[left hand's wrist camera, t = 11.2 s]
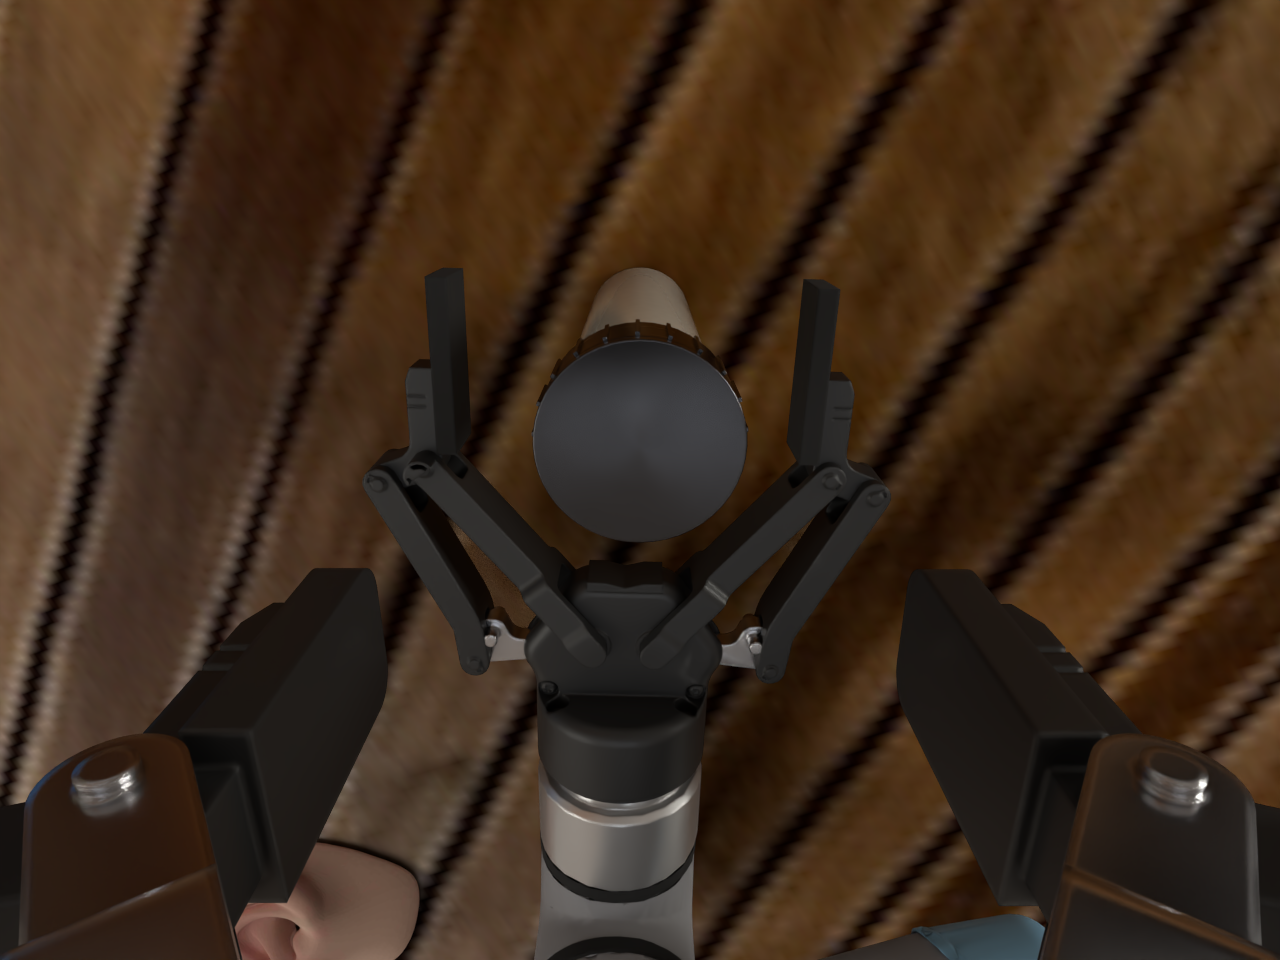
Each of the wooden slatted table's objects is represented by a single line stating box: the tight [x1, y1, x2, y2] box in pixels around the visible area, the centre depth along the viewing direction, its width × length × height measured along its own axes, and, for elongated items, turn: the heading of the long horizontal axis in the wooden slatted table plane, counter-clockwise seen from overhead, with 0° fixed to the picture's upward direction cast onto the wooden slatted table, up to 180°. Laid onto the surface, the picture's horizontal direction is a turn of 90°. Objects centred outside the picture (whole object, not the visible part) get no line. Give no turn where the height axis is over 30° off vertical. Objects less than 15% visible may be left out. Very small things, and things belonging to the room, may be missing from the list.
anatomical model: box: [235, 842, 419, 960], centre depth 46 cm, size 13×4×12 cm
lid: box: [532, 319, 748, 542], centre depth 20 cm, size 5×5×2 cm
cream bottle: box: [580, 268, 701, 342], centre depth 27 cm, size 4×4×17 cm
